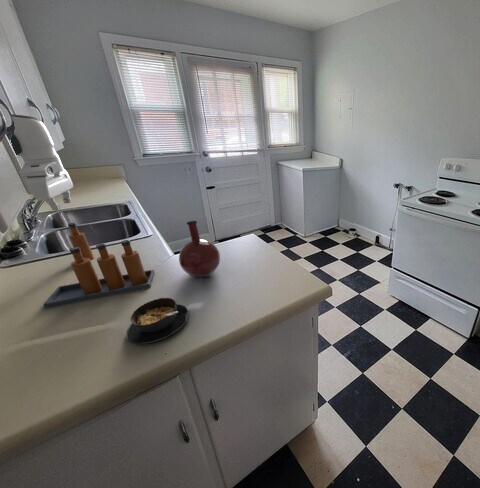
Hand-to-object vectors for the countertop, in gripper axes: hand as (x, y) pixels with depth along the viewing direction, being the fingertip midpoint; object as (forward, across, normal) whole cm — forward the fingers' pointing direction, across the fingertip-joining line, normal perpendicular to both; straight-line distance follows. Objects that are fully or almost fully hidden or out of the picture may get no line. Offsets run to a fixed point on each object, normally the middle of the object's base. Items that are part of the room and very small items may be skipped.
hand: (62, 206), depth 98 cm
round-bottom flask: (+23, +29, +44) cm, 57 cm away
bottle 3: (+22, +27, +23) cm, 42 cm away
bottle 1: (+22, +28, +10) cm, 37 cm away
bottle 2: (+22, +28, +17) cm, 39 cm away
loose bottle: (+23, -2, -1) cm, 23 cm away
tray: (+23, +28, +14) cm, 38 cm away
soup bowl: (+23, +54, +33) cm, 68 cm away
